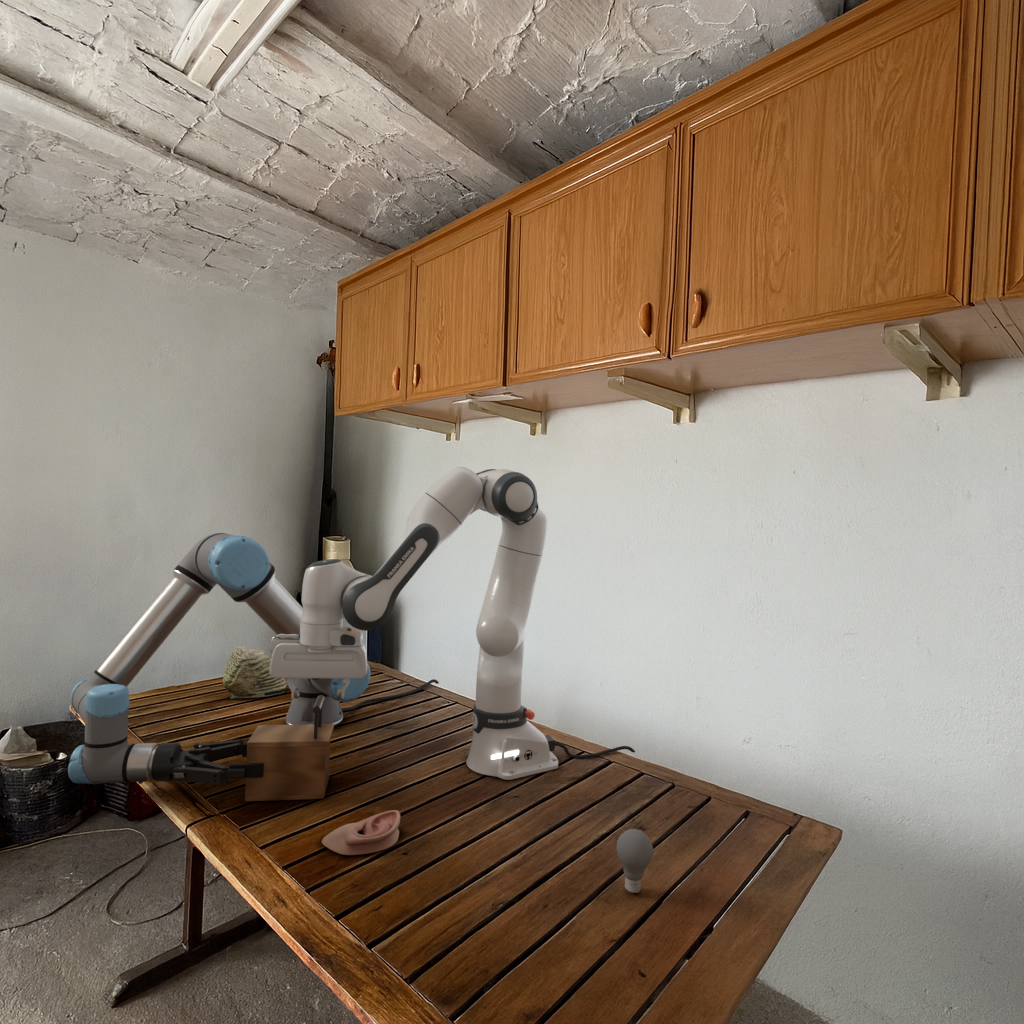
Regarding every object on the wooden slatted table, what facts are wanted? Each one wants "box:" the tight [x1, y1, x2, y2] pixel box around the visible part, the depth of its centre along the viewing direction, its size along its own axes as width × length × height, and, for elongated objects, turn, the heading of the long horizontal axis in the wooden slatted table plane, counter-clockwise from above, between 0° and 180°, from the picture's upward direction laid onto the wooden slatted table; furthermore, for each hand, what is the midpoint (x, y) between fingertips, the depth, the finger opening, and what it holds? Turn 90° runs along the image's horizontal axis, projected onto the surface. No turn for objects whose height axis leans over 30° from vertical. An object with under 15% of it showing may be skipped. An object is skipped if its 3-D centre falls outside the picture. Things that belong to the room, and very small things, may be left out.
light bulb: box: [615, 828, 654, 894], centre depth 106 cm, size 6×6×10 cm
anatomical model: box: [321, 809, 401, 856], centre depth 118 cm, size 13×4×12 cm
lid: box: [246, 695, 335, 748], centre depth 136 cm, size 16×10×8 cm, turn 100°
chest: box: [244, 738, 332, 802], centre depth 136 cm, size 16×10×11 cm, turn 100°
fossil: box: [222, 646, 288, 699], centre depth 198 cm, size 9×18×15 cm, turn 132°
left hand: (268, 759), depth 136 cm, fingers closed on chest, 10 cm apart
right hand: (318, 697), depth 137 cm, fingers open, 8 cm apart
